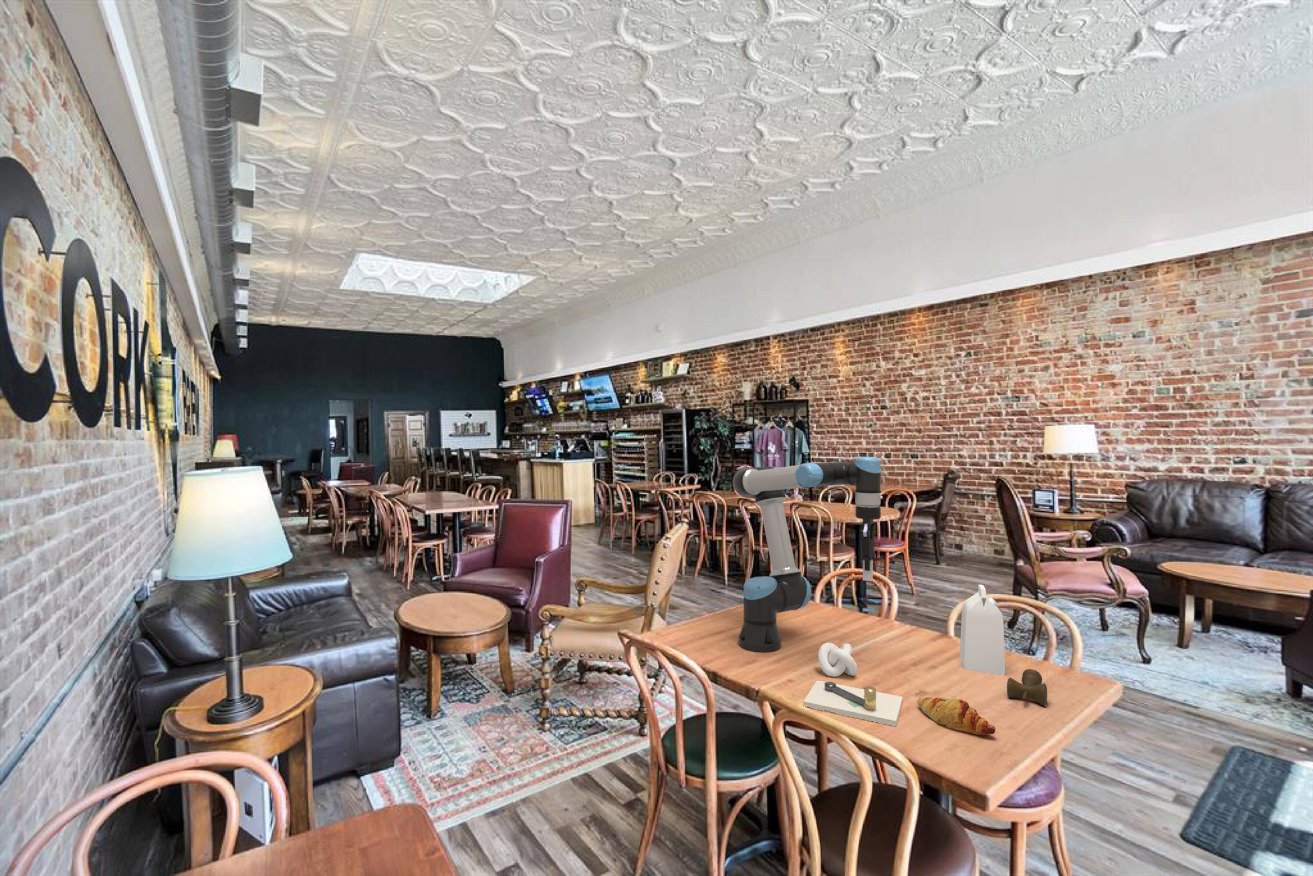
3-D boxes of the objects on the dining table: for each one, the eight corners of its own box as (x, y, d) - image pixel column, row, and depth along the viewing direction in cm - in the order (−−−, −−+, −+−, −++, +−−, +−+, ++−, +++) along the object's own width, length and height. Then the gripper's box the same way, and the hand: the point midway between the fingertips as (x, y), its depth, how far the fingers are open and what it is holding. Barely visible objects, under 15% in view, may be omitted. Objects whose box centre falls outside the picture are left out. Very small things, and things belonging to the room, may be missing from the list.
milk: (959, 657, 202) (960, 580, 201) (998, 662, 198) (998, 584, 197) (964, 670, 190) (964, 589, 190) (1005, 676, 186) (1005, 593, 186)
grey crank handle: (822, 687, 173) (822, 670, 173) (829, 685, 175) (830, 668, 175) (870, 710, 158) (870, 692, 158) (878, 708, 160) (878, 689, 160)
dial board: (803, 706, 165) (803, 701, 165) (816, 685, 179) (816, 680, 179) (896, 726, 154) (896, 720, 154) (902, 702, 168) (902, 696, 168)
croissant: (911, 722, 164) (902, 700, 162) (930, 697, 169) (921, 675, 167) (990, 755, 146) (981, 731, 144) (1008, 726, 151) (1000, 702, 149)
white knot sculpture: (823, 663, 197) (823, 636, 197) (861, 669, 191) (861, 642, 191) (815, 675, 187) (815, 647, 187) (855, 683, 181) (855, 653, 181)
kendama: (1051, 690, 177) (1045, 714, 161) (1014, 683, 183) (1004, 705, 167) (1051, 670, 177) (1044, 691, 161) (1013, 663, 183) (1003, 683, 167)
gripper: (877, 508, 181) (877, 586, 181) (883, 504, 192) (883, 577, 192) (852, 507, 184) (851, 583, 184) (859, 503, 196) (858, 574, 196)
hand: (867, 580), depth 188 cm, fingers closed
